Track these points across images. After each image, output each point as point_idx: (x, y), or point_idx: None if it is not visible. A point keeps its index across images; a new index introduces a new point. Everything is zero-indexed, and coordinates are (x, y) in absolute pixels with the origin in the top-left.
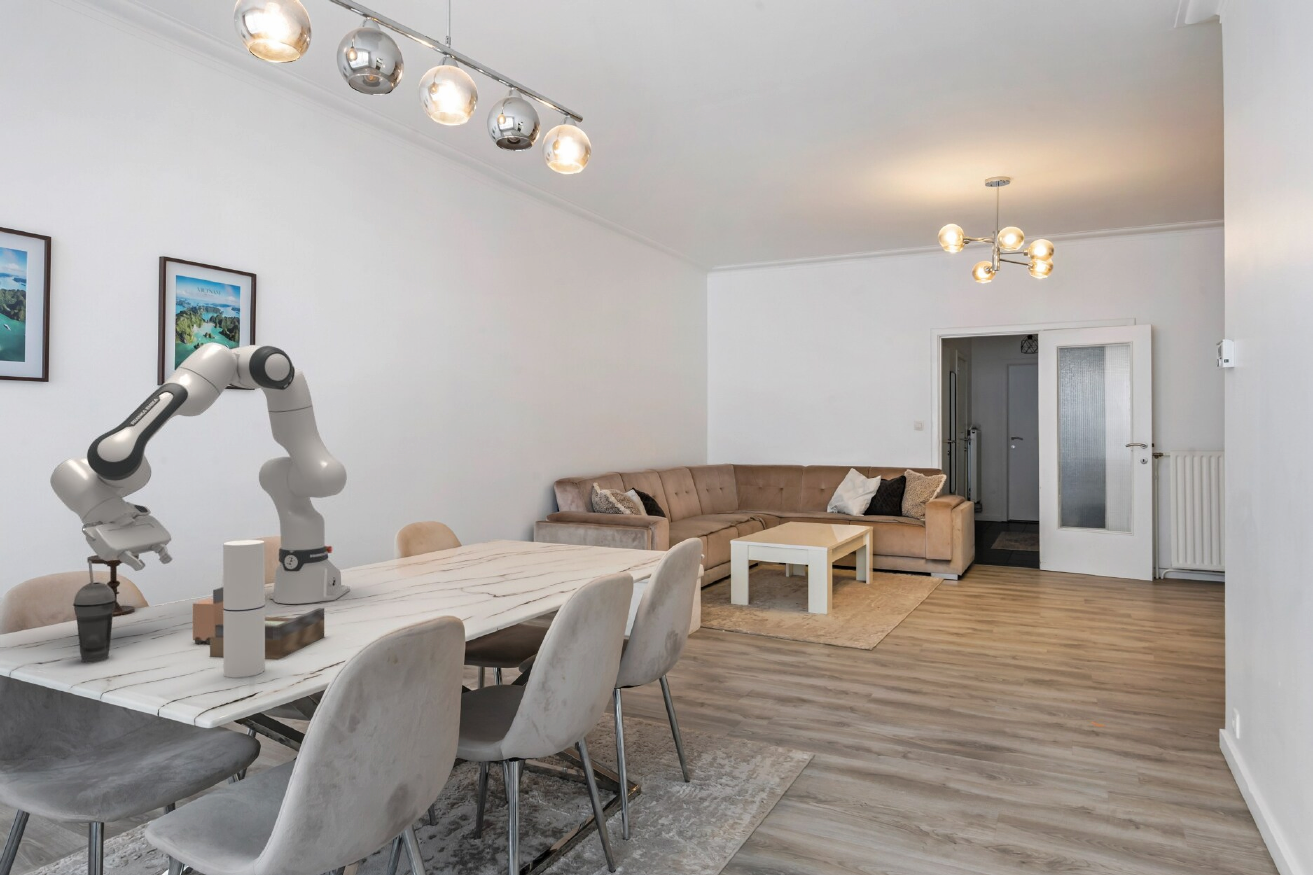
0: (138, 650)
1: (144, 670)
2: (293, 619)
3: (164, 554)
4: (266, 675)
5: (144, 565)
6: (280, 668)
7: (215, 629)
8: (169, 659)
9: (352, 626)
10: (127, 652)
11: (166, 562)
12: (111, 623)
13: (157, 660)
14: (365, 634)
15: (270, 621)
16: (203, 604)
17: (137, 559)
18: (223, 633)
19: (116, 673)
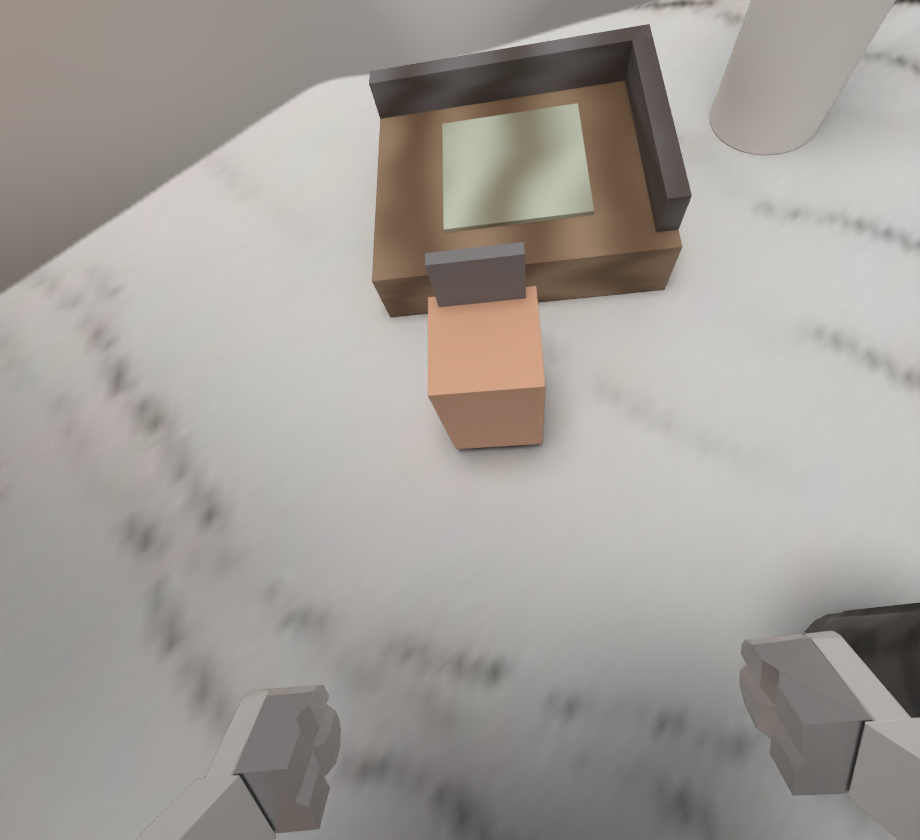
0: (677, 585)
1: (877, 362)
2: (540, 51)
3: (293, 758)
4: None
5: (765, 638)
6: (702, 72)
7: (686, 208)
8: (737, 381)
9: (280, 157)
10: (716, 608)
11: (331, 708)
12: (918, 607)
13: (763, 410)
14: (361, 90)
15: (450, 201)
16: (540, 336)
17: (880, 727)
18: (888, 8)
19: None
